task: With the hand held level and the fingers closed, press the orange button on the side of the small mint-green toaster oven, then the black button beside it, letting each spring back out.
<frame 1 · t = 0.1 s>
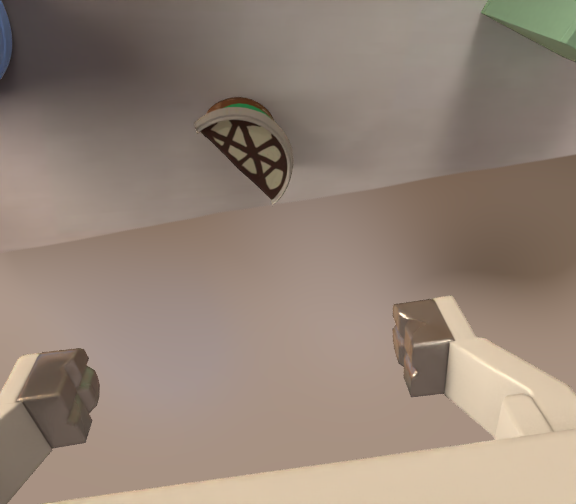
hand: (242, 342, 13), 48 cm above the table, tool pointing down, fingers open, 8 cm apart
food container: (255, 119, 59), on the table
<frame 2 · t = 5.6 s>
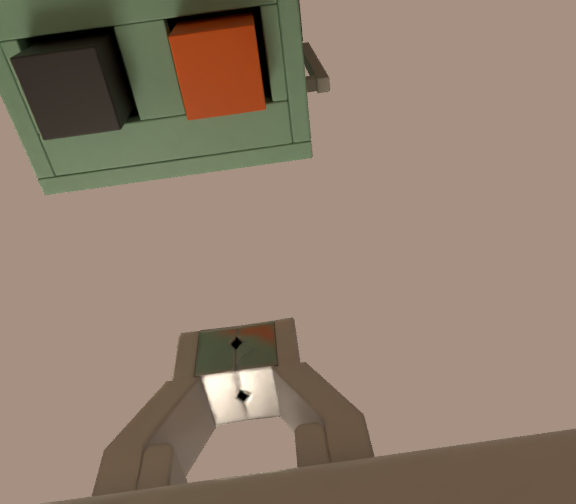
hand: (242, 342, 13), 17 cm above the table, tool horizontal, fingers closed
timer button: (79, 84, 19), point 12 cm above the table, slide at 0.1 cm
start button: (220, 65, 19), point 12 cm above the table, slide at 0.1 cm
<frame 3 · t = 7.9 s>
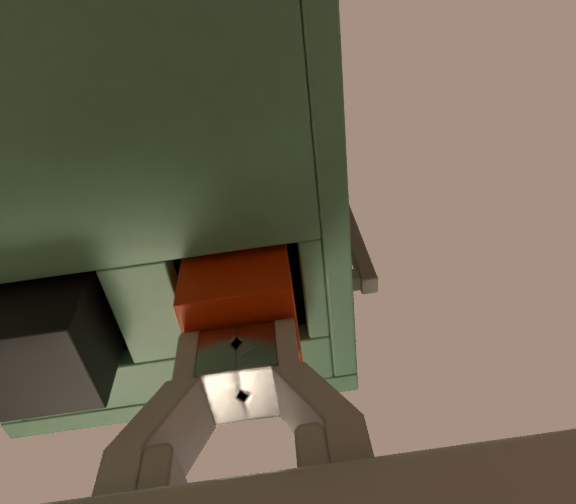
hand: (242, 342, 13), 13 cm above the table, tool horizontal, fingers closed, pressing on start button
timer button: (49, 338, 14), point 13 cm above the table, slide at 0.1 cm
start button: (242, 303, 14), point 12 cm above the table, slide at -0.3 cm, touching gripper
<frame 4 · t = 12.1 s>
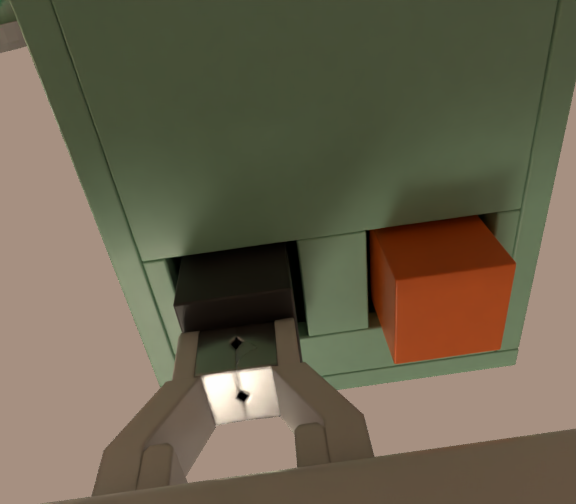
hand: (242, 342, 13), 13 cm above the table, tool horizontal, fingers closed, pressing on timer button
timer button: (242, 303, 14), point 13 cm above the table, slide at -0.2 cm, touching gripper
start button: (433, 282, 14), point 13 cm above the table, slide at 0.1 cm
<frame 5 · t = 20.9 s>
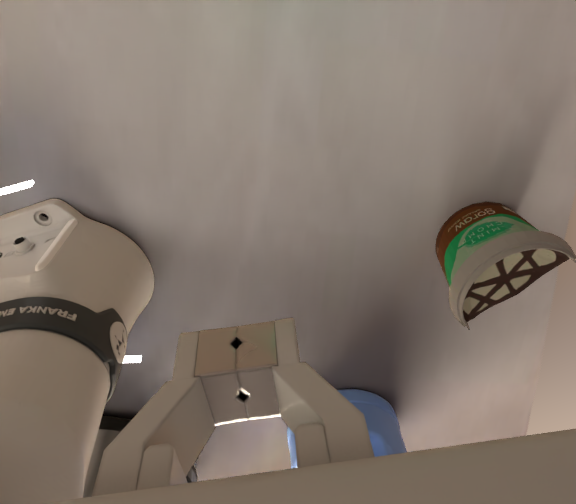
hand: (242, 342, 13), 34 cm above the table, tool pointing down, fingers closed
pressure cooker: (109, 462, 71), on the table
water jug: (340, 421, 70), on the table
food container: (464, 222, 53), on the table
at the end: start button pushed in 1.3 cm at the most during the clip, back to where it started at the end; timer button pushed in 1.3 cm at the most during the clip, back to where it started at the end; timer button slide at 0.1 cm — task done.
